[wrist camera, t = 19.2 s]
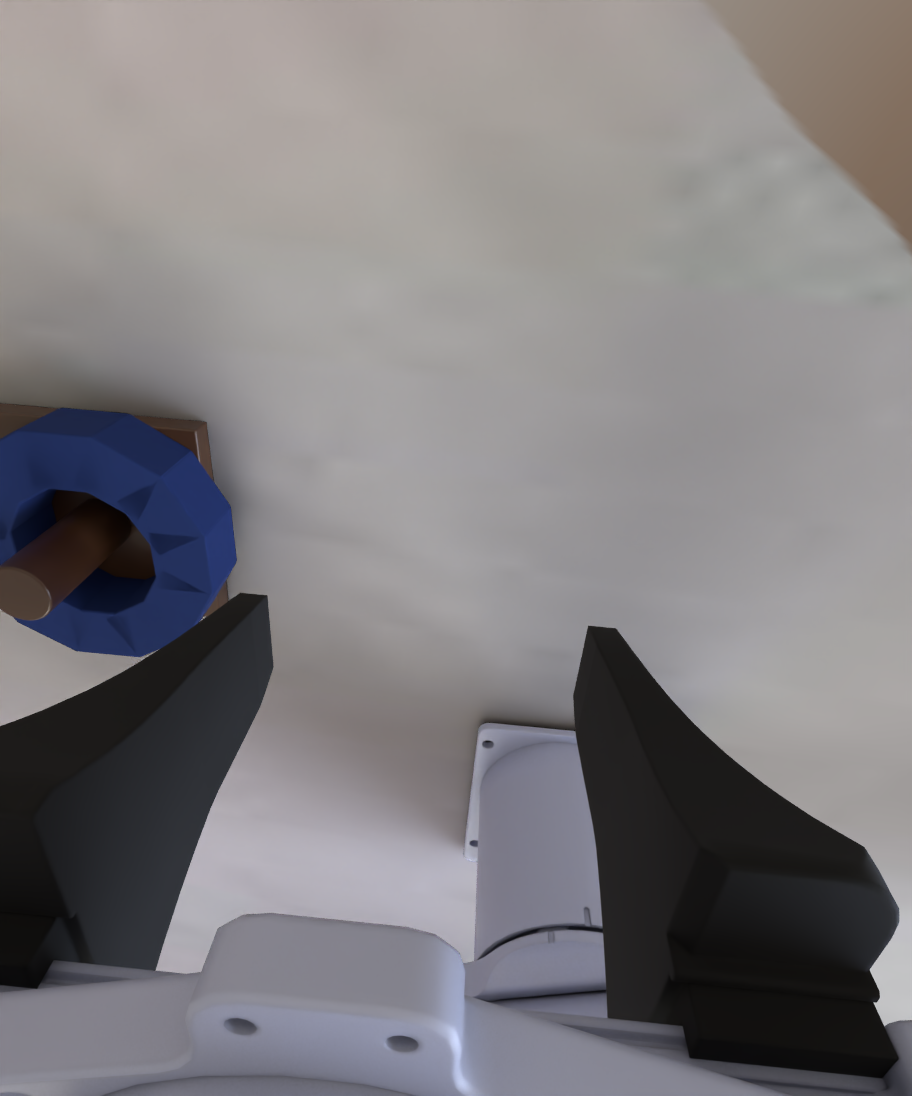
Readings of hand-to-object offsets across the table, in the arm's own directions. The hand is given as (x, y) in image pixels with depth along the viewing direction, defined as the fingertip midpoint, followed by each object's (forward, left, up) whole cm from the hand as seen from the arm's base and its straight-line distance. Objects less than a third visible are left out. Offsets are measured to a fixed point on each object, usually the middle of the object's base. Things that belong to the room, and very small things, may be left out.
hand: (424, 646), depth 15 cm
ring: (-3, +12, -9) cm, 16 cm away
